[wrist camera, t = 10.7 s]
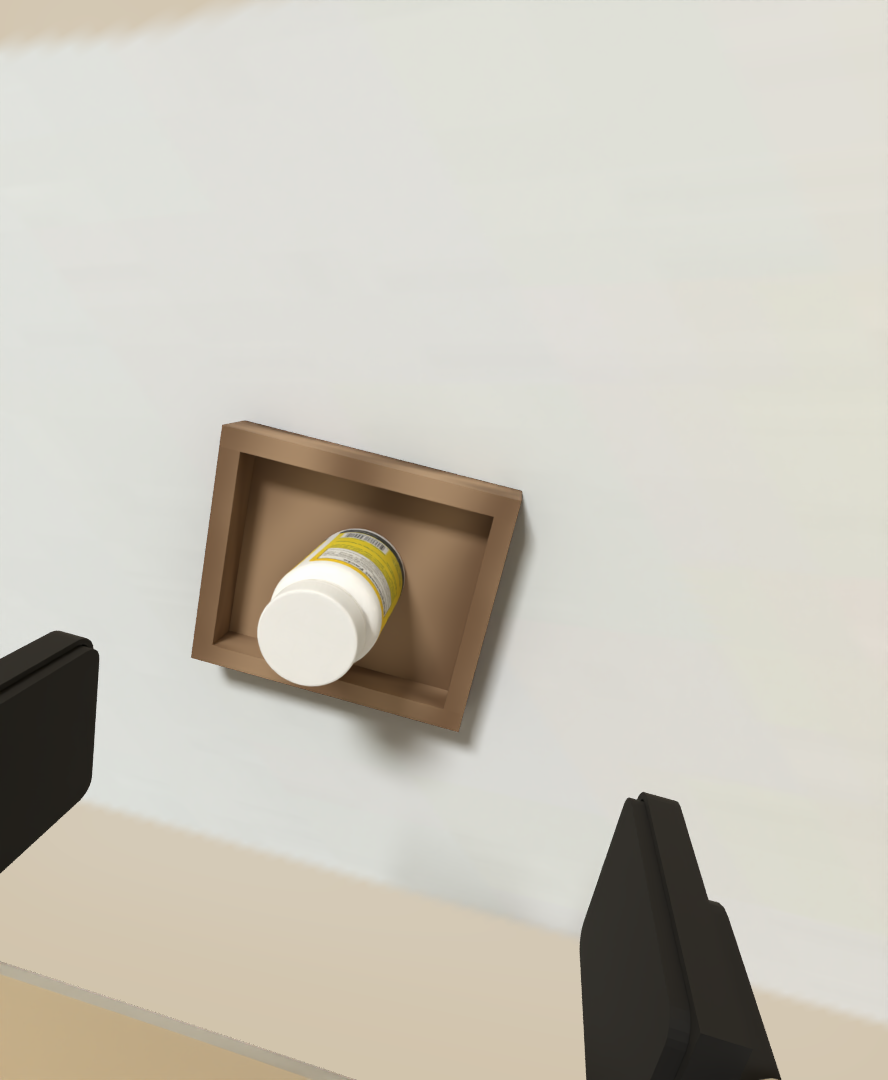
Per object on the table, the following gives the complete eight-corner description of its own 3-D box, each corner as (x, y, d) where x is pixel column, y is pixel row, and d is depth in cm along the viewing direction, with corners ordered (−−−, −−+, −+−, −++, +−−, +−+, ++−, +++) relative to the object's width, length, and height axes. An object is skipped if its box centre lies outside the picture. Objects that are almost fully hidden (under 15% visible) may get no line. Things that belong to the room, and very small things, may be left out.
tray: (521, 490, 31) (521, 501, 29) (463, 706, 34) (458, 732, 32) (245, 420, 32) (222, 424, 30) (214, 638, 35) (191, 657, 33)
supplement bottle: (337, 628, 34) (276, 711, 26) (299, 546, 33) (223, 604, 25) (422, 599, 33) (386, 675, 24) (384, 512, 32) (335, 562, 24)
